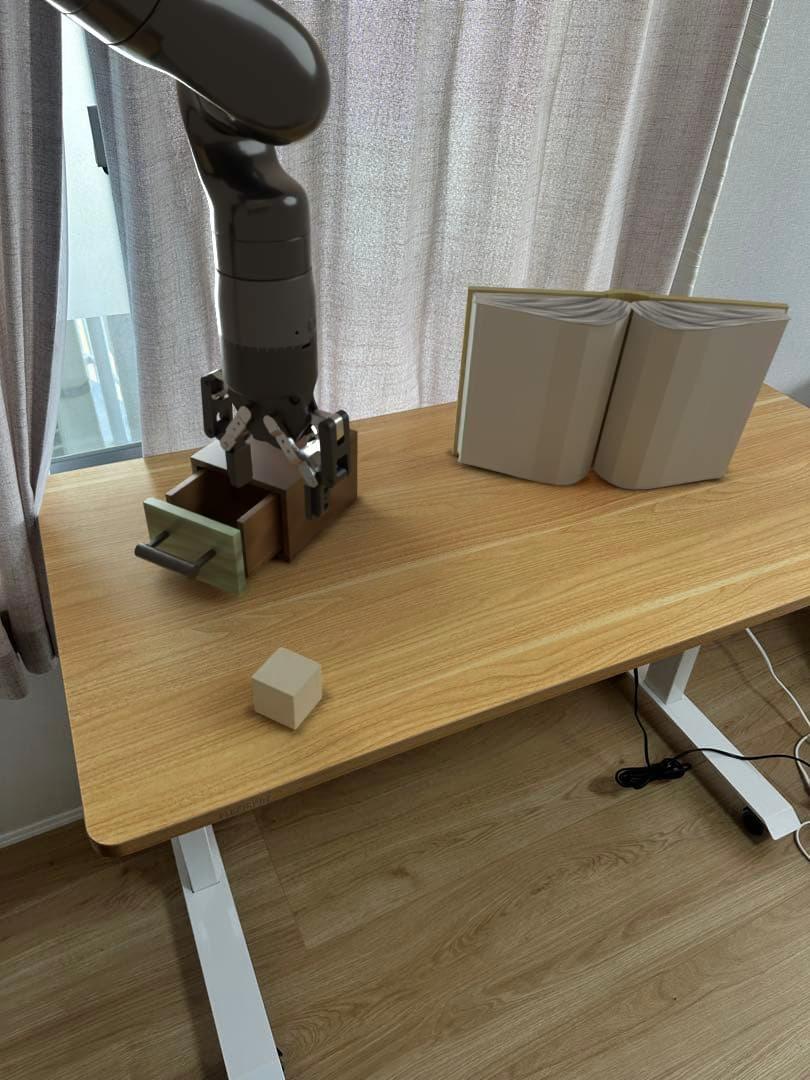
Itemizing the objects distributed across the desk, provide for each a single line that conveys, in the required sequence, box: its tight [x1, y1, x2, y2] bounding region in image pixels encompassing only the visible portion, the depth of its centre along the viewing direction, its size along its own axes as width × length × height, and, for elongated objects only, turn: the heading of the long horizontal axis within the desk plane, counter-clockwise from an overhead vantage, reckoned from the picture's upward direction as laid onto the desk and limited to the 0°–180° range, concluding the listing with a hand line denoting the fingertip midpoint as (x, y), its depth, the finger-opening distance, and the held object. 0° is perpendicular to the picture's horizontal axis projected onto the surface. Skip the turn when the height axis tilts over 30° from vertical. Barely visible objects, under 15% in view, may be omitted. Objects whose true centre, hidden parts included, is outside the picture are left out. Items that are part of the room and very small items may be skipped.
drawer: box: [133, 468, 284, 598], centre depth 86 cm, size 18×11×8 cm, turn 152°
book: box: [451, 285, 793, 491], centre depth 98 cm, size 36×8×24 cm, turn 87°
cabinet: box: [189, 428, 359, 563], centre depth 94 cm, size 15×13×10 cm
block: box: [250, 646, 323, 731], centre depth 72 cm, size 4×4×4 cm
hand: (278, 499), depth 71 cm, fingers open, 8 cm apart
